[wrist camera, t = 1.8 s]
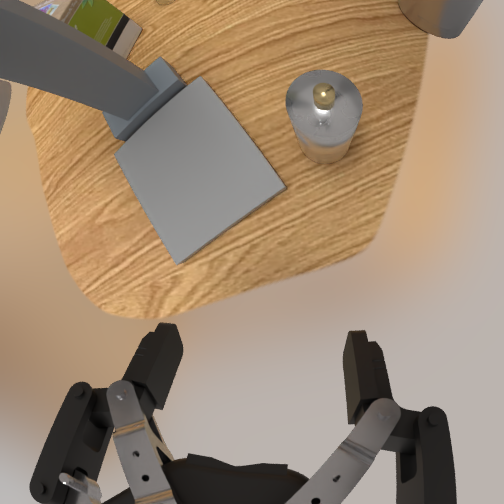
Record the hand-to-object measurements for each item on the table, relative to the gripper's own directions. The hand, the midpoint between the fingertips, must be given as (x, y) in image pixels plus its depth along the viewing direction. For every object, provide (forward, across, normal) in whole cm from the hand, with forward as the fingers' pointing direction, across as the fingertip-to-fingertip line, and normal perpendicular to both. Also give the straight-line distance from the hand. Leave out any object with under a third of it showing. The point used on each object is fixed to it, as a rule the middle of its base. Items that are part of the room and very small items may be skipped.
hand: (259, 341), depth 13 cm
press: (+21, +14, -3) cm, 25 cm away
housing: (+20, -5, -6) cm, 21 cm away
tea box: (+31, +27, -22) cm, 47 cm away
